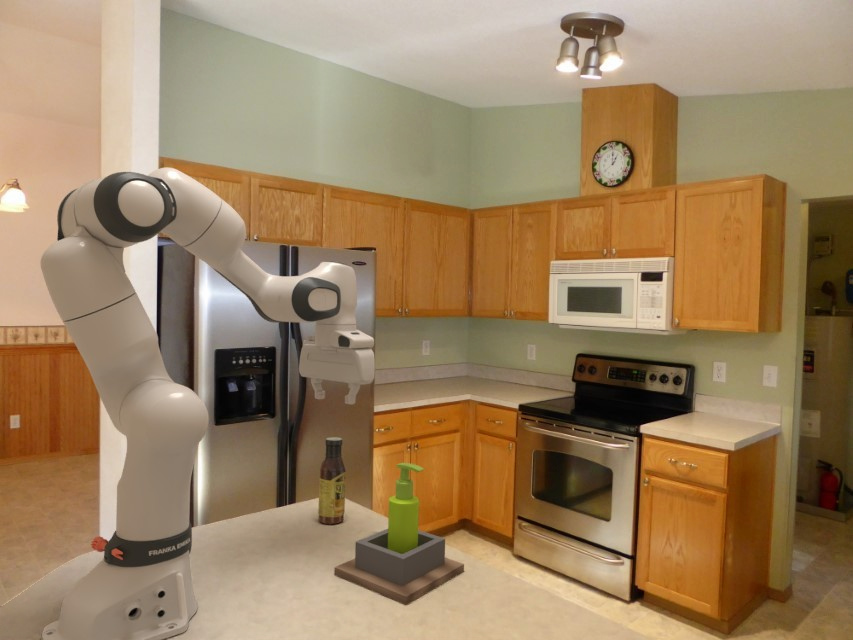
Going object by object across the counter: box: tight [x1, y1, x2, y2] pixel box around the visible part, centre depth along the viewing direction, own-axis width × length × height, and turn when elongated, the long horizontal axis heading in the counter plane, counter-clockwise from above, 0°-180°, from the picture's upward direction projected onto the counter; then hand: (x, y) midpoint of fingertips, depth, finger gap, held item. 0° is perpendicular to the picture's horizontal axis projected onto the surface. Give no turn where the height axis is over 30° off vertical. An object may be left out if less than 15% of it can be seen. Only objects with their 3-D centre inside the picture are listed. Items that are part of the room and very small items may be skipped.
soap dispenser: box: [387, 462, 425, 554], centre depth 118 cm, size 6×7×20 cm
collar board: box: [333, 528, 465, 606], centre depth 118 cm, size 18×18×6 cm
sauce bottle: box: [317, 436, 347, 525], centre depth 146 cm, size 7×6×20 cm
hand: (334, 401), depth 131 cm, fingers open, 8 cm apart
